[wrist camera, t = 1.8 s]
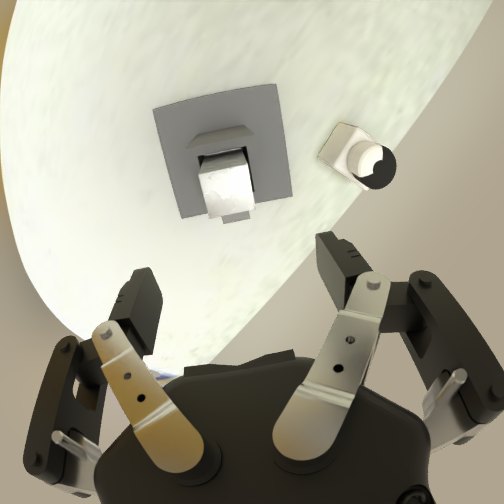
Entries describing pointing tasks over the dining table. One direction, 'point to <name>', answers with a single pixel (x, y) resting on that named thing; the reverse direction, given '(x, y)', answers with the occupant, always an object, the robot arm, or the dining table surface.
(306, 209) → the dining table surface
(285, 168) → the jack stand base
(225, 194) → the steel column
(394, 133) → the dining table surface
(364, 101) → the dining table surface
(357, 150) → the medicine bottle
